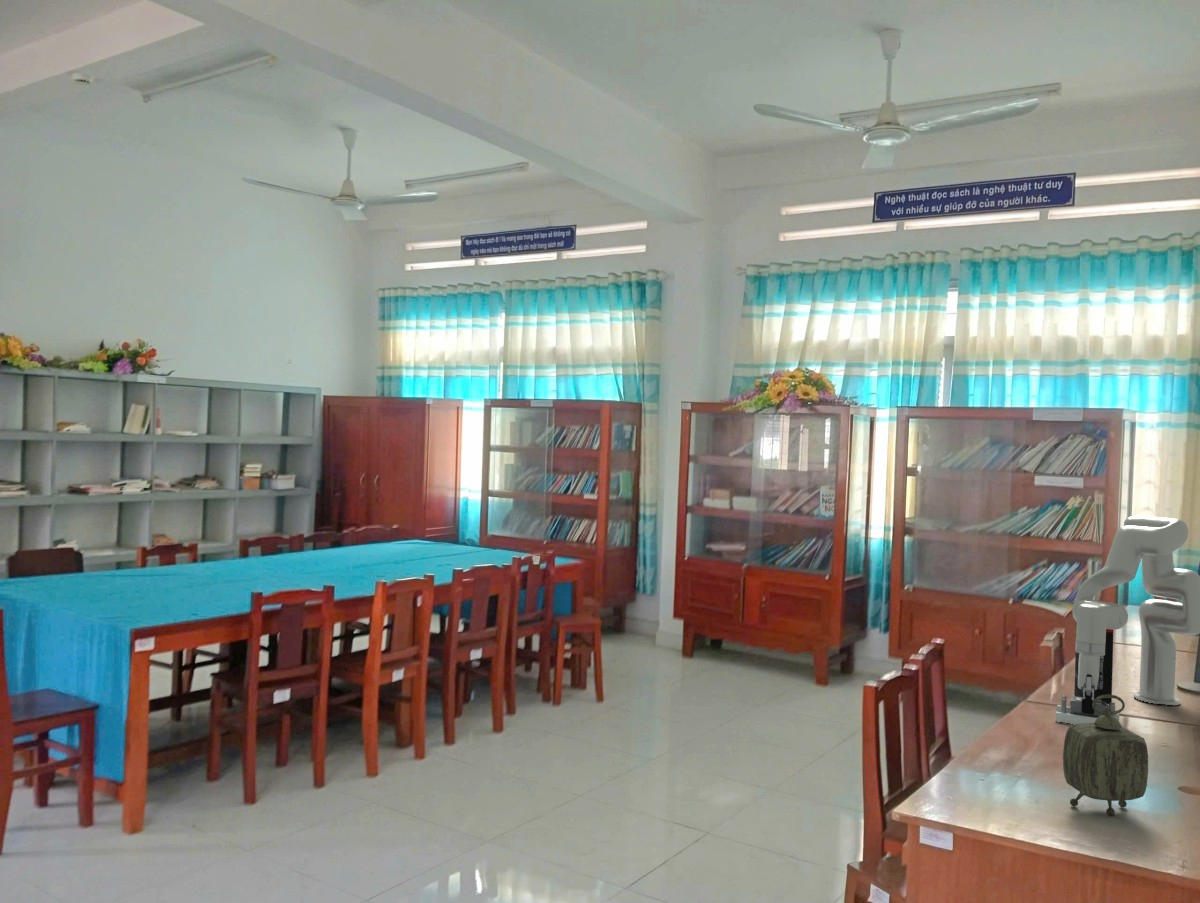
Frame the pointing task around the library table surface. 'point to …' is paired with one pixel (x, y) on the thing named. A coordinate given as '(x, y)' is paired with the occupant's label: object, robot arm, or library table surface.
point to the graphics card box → (1100, 671)
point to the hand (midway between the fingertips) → (1087, 709)
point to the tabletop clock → (1105, 759)
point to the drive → (1077, 707)
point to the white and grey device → (1066, 717)
